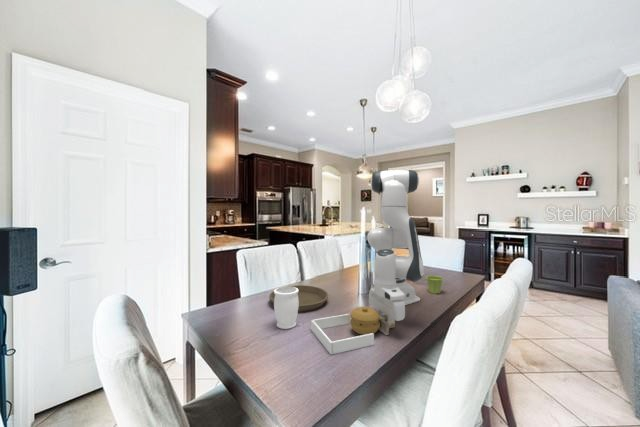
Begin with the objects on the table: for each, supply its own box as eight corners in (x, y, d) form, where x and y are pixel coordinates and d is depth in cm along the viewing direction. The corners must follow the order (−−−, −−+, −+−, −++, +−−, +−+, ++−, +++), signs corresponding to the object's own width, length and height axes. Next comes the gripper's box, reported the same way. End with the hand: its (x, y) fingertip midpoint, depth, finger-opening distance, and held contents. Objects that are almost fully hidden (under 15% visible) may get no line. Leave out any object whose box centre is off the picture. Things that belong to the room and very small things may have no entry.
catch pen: (348, 322, 113) (348, 313, 113) (373, 344, 95) (374, 333, 95) (311, 329, 107) (311, 320, 107) (330, 354, 89) (330, 343, 89)
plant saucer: (338, 308, 130) (338, 299, 130) (276, 318, 119) (276, 308, 119) (316, 290, 159) (316, 282, 159) (264, 296, 148) (264, 288, 147)
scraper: (383, 320, 116) (384, 310, 116) (401, 332, 105) (402, 321, 104) (369, 322, 113) (369, 312, 113) (386, 335, 102) (386, 323, 102)
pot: (347, 325, 111) (347, 302, 110) (375, 324, 111) (375, 301, 111) (353, 339, 99) (353, 313, 99) (383, 338, 100) (383, 312, 100)
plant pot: (424, 293, 153) (424, 278, 153) (427, 289, 161) (428, 274, 160) (441, 296, 148) (441, 280, 147) (444, 291, 155) (444, 277, 155)
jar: (291, 332, 105) (291, 295, 105) (269, 328, 109) (269, 292, 108) (302, 321, 115) (302, 287, 115) (281, 318, 118) (281, 285, 118)
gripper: (365, 283, 117) (365, 314, 117) (394, 298, 98) (394, 335, 98) (377, 282, 119) (377, 312, 119) (408, 296, 100) (407, 331, 100)
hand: (385, 322), depth 109 cm, fingers closed on scraper, 3 cm apart
